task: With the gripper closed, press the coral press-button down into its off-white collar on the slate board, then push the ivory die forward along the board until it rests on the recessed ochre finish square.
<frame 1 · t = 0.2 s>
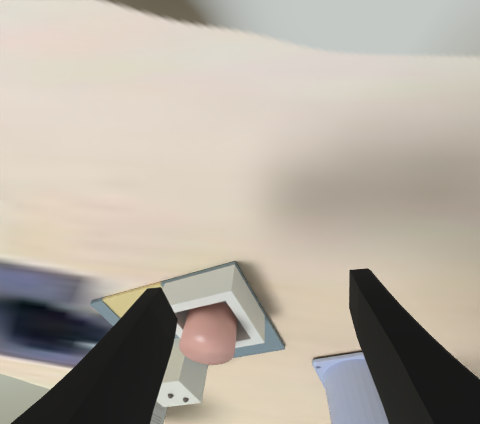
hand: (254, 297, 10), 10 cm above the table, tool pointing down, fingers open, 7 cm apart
button: (210, 332, 22), point 4 cm above the table, slide at 0.0 cm
board: (191, 323, 28), on the table
die: (182, 350, 30), resting on board
collar: (216, 299, 25), resting on board
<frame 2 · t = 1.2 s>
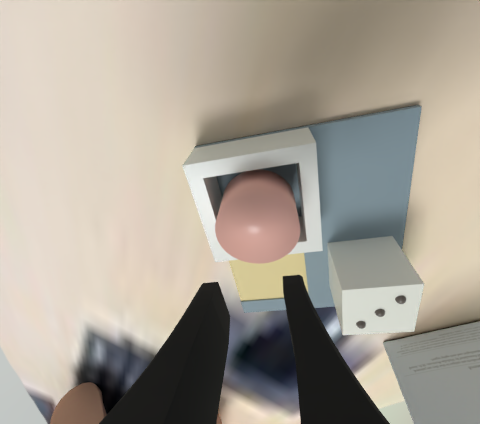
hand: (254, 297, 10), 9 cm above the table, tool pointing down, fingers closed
medical training model: (147, 421, 42), on the table
button: (257, 216, 15), point 4 cm above the table, slide at 0.0 cm
board: (308, 233, 20), on the table
supplement box: (437, 352, 27), on the table
die: (358, 262, 21), resting on board
collar: (258, 189, 18), resting on board
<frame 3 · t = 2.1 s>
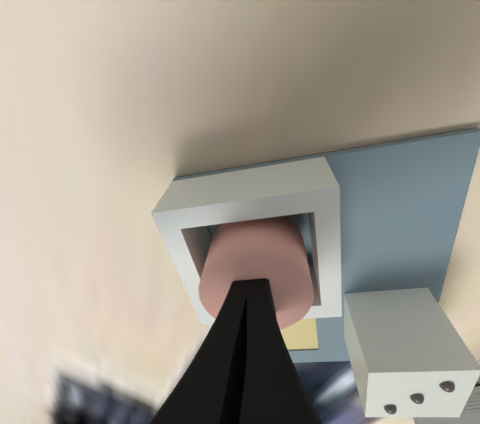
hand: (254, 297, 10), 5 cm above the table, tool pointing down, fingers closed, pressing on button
button: (256, 269, 12), point 3 cm above the table, slide at 0.5 cm, touching gripper
board: (320, 281, 16), on the table
supplement box: (468, 406, 23), on the table
die: (382, 315, 17), resting on board
collar: (257, 231, 14), resting on board
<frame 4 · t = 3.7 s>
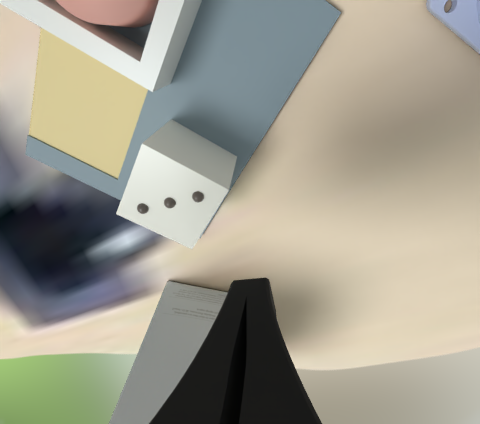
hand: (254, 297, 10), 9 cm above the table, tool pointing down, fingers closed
board: (158, 94, 16), on the table
supplement box: (208, 315, 27), on the table
die: (190, 167, 17), resting on board
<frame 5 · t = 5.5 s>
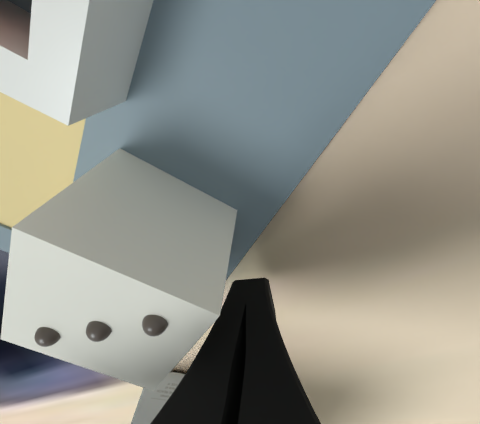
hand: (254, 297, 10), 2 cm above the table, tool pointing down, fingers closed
board: (108, 119, 9), on the table
supplement box: (209, 402, 20), on the table
die: (159, 224, 10), resting on board, touching gripper
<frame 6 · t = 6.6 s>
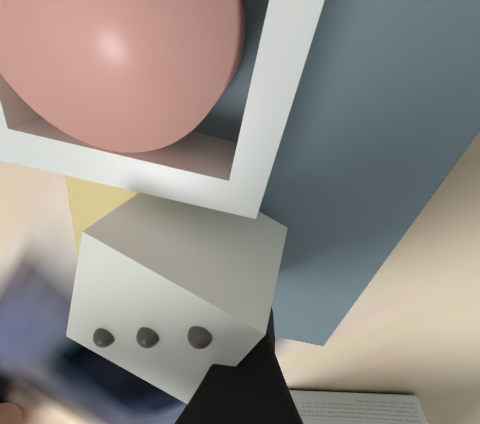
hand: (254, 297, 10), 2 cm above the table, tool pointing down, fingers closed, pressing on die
button: (135, 24, 6), point 2 cm above the table, slide at 1.3 cm
board: (239, 189, 10), on the table
supplement box: (338, 414, 20), on the table
die: (210, 239, 11), point 1 cm above the table, tilted 11°, touching board, gripper
collar: (165, 27, 7), resting on board
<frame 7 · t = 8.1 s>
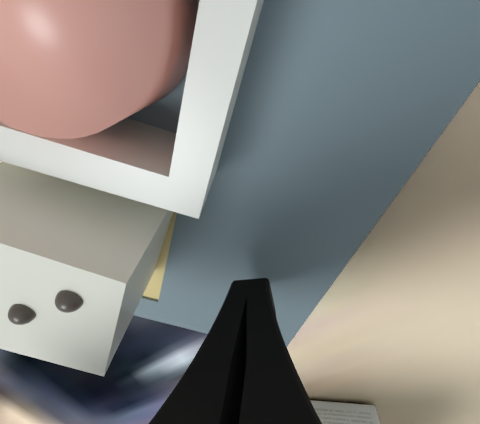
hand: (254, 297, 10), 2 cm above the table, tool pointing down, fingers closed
button: (70, 3, 5), point 2 cm above the table, slide at 1.3 cm
board: (197, 188, 10), on the table
supplement box: (299, 421, 20), on the table
die: (110, 214, 10), resting on board
collar: (117, 12, 7), resting on board
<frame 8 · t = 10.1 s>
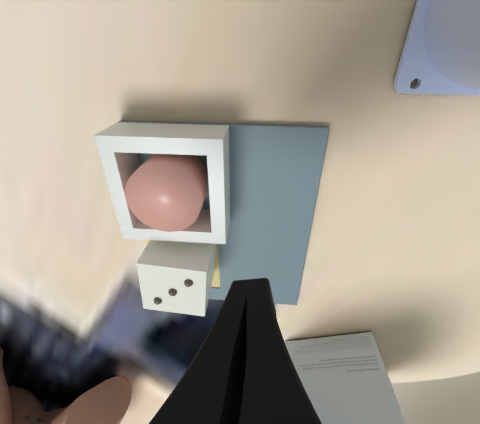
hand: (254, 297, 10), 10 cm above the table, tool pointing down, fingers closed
medical training model: (56, 390, 40), on the table
button: (170, 189, 17), point 2 cm above the table, slide at 1.3 cm
board: (224, 227, 21), on the table
supplement box: (331, 356, 30), on the table
die: (188, 248, 22), resting on board
collar: (179, 175, 18), resting on board
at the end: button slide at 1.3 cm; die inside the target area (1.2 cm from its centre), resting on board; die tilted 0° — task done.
